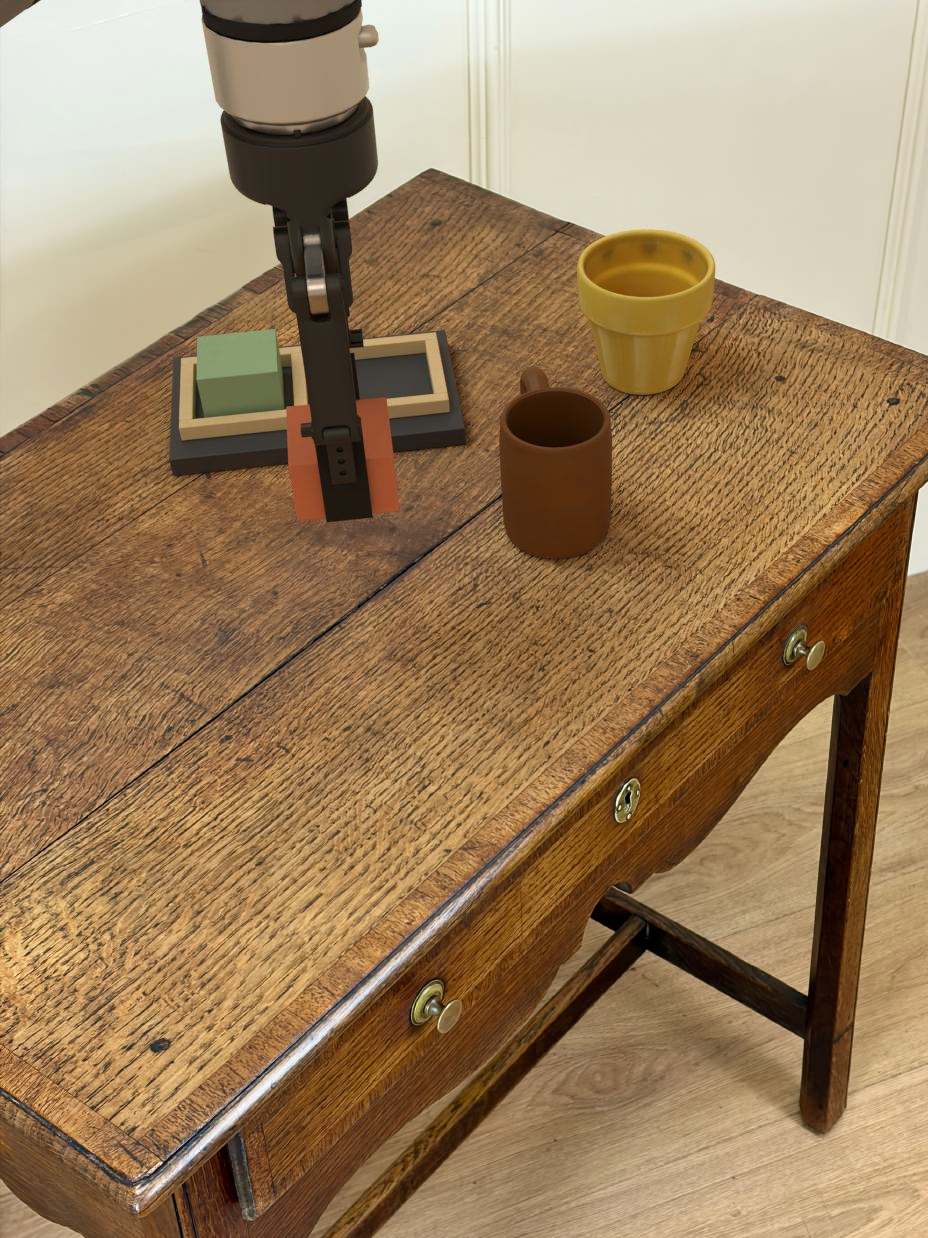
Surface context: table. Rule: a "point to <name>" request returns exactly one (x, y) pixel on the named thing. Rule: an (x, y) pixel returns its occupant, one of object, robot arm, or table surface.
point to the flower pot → (645, 305)
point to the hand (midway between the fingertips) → (346, 481)
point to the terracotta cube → (376, 454)
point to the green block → (240, 373)
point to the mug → (555, 468)
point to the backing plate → (385, 368)
